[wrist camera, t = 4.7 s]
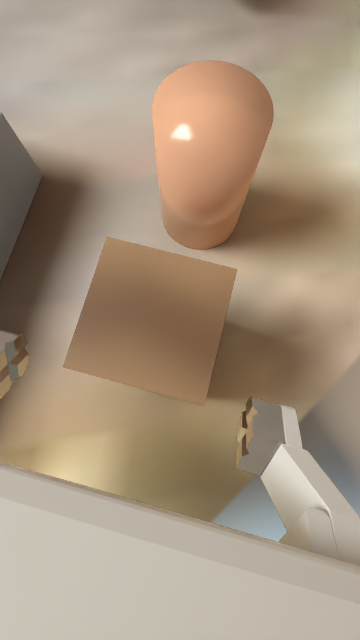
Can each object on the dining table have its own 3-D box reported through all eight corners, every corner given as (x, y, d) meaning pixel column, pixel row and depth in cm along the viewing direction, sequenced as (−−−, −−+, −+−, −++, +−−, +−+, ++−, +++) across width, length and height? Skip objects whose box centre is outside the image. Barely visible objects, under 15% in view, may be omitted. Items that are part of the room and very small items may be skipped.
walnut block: (135, 296, 19) (106, 236, 12) (213, 316, 19) (237, 269, 11) (111, 374, 18) (62, 367, 11) (193, 396, 18) (204, 405, 10)
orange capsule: (173, 173, 21) (170, 49, 13) (244, 190, 21) (283, 74, 13) (153, 238, 20) (137, 146, 12) (227, 257, 20) (259, 175, 12)
